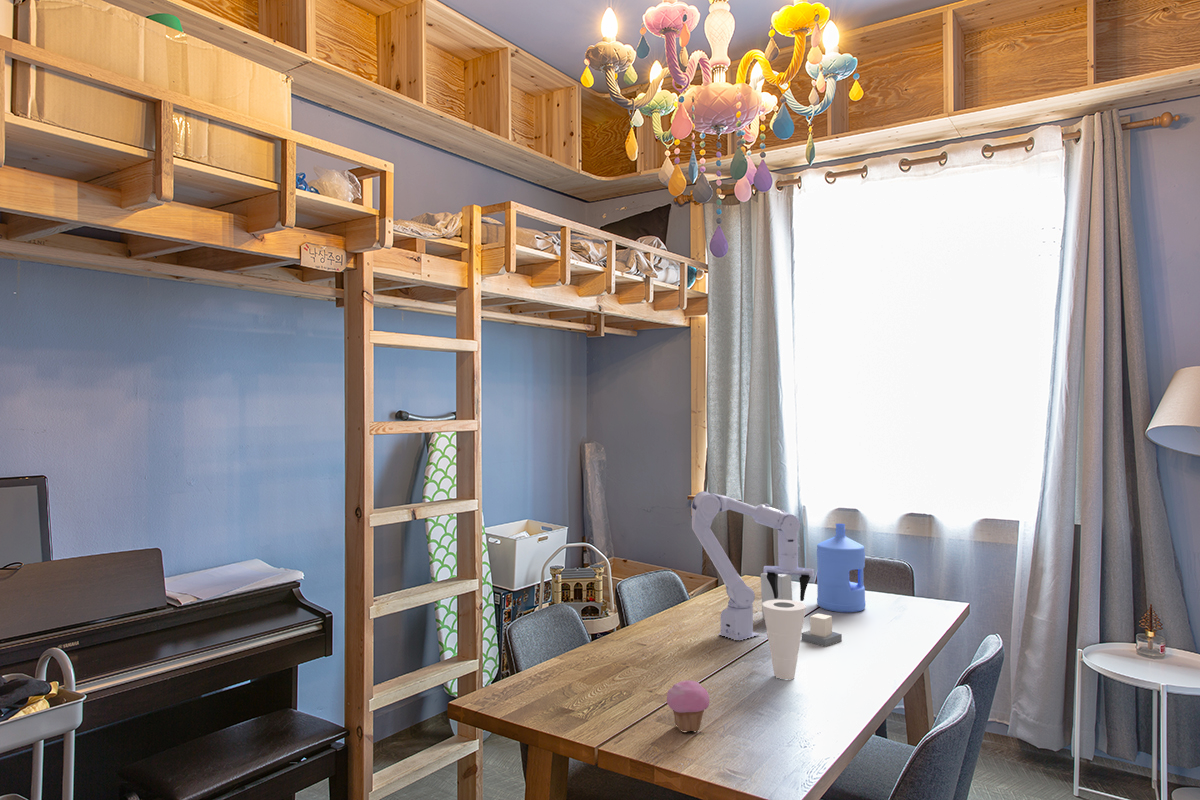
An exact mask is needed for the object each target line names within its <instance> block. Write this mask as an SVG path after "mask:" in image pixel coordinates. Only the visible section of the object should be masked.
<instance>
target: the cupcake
mask: <svg viewBox="0 0 1200 800" xmlns="http://www.w3.org/2000/svg"><path fill="white" fill-rule="evenodd" d="M666 704H667V705H668V707H669V708H670V709H671V710H672V712H673V715H674V723H675V726H676V725H677V726H678V728H679V729H680V730H682V731H698V730H699V731H700V728H701V725H702V719H703V715H704V712H705V710H707V709H708V708H709V706H710V695H709V693H708V690H707V689H706V688H704V687H703V686H702V685H701V683H699V682H698V681H696V680H690V679H689V680H688V679H687V680H680V681H679V682H676V683H675V684H673V685H672V687H671V688H669V689H668V691H667V694H666ZM678 728H677V729H678ZM679 729H678V730H679ZM680 730H679V731H680ZM699 731H698V732H699Z"/></svg>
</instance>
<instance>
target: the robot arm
mask: <svg viewBox="0 0 1200 800" xmlns="http://www.w3.org/2000/svg"><path fill="white" fill-rule="evenodd" d="M690 508H691V529H692V531H693V532H694V534H695V536H696V538H697V539H698V541H699V542H700V544H701V546H702V548H703V549H704V551H705V553H706V554H707V556H708V557H709V559H710V560H711V562H712V564H713V566H714V567H715V569H716V571H717V573H719V575H720V577H721V579H722V581H723V584H724V586H725V589H726V592H725V593H726V594H727V596H728V597H729V600H728V602H727V607H726V608H723V609H722V610H721V613H720V632H719V633H718V636H719V635H722V636H725V637H724V638H726V637H728V638H727V639H729V638H731V639H730V640H732V639H735V640H742V641H744V640H743V639H745V640H748V639H747V638H749V639H751V638H750V637H752V638H755V637H754V636H756V637H758V636H757V635H759V636H760V633H757V632H754V628H753V627H754V622H753V621H754V616H753V615H754V614H753V613H754V612H753V611H754V610H753V609H754V608H753V607H754V606H753V605H754V604H753V603H754V602H755V599H756V598H755V597H756V594H755V592H754V590H753V589H752V588H751V587H750V586H748V585H747V584H746V582H745V581H744V580H743V578H742V577H741V576H740V574H739V573H738V571H737V569H736V568H735V567H734V565H733V564H732V561H731V560H730V558H729V557H728V555H727V553H726V552H725V550H724V549H723V547H722V545H721V544H720V541H719V540H718V539H717V537H716V535H715V534H714V532H713V530H712V529H711V526H712V524H713V521H714V519H715V517H716V516H717V515H718V513H719V512H721V513H723V512H726V511H729V510H730V511H733V512H736V513H739V514H743V515H746V516H749V517H752V519H753V521H754V522H755V523H757V524H760V525H763V526H766V527H768V528H772V529H774V530H776V529H777V553H778V554H777V555H778V557H777V560H778V563H777V564H778V565H764V566H763V568H762V569H763V573H765V574H767V579H768V581H769V583H770V585H771V587H772V590H773V594H774V598H775V599H777V598H778V574H786V575H791V576H799V587H800V593H799V594H800V596H799V598H800V599H799V600H800V601H799V602H803V601H804V600H805V595H806V594H805V593H806V591H807V590H806V589H807V587H808V585H809V582H810V580H811V578H813V577H815V572H814V571H815V569H814V568H807V567H800V566H799V553H798V552H799V549H798V548H799V547H798V532H799V530H800V529H801V523H800V520H799V519H798V517H797V516H796V515H794V514H792V513H790V512H787V511H785V510H784V509H777V508H774V507H771V505H770V504H768V503H764V504H762V503H760V504H758V505H756V506H754V505H752V504H749V503H745V502H743V501H741V500H738V499H736V498H732V497H729V496H728V495H723V494H718V493H710V492H708V491H705V490H703V491H699V492H697V493H696V494H695V496H694V497H693V500H692V502H691V505H690ZM722 636H721V637H722ZM735 640H734V641H735Z"/></svg>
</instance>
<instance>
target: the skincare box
mask: <svg viewBox="0 0 1200 800" xmlns="http://www.w3.org/2000/svg"><path fill="white" fill-rule="evenodd" d="M792 586H793V585H792V575H786V574H778V598H777V599H775V598H774V594H773V590H772V587H771V585H770V583H769V581H768V579H767V574H765V573H764V572H762V573H760V589H761V590H760V591H761V592H760V594H761V604H762V603H763V602H765V601H768V600H792V601H793V589H792ZM761 611H762V613H761V614H762V619H763V620H765V617H764V611H763V606H762V605H761Z"/></svg>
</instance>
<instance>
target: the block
mask: <svg viewBox="0 0 1200 800" xmlns="http://www.w3.org/2000/svg"><path fill="white" fill-rule="evenodd" d="M809 617H810V620H809V621H810V622H809V625H810V626H809V627H810V629H809V631H810V634H814V635H818V636H823V637H826V636H828V635H830V634H832V632H833V615H829V614H823V613H816V614H813V615H811V616H809Z"/></svg>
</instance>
